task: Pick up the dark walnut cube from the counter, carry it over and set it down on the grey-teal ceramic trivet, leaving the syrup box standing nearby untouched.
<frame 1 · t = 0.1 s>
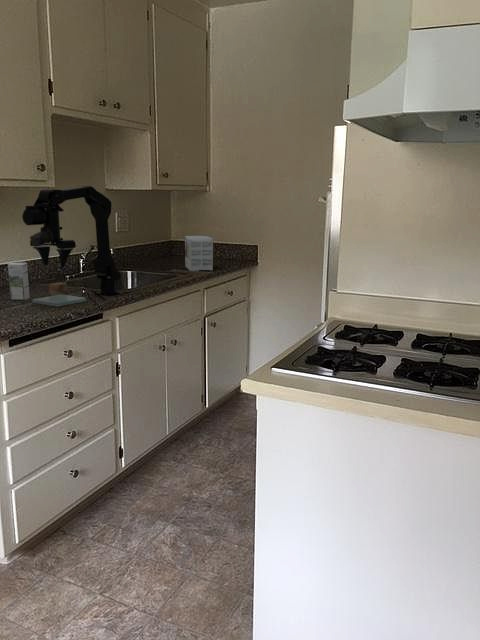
hand: (54, 266, 208), 14 cm above the countertop, tool pointing down, fingers open, 9 cm apart
trivet: (59, 301, 216), on the countertop
supplement box: (198, 269, 316), on the countertop
walnut cube: (58, 295, 229), on the countertop
syrup box: (20, 299, 220), on the countertop
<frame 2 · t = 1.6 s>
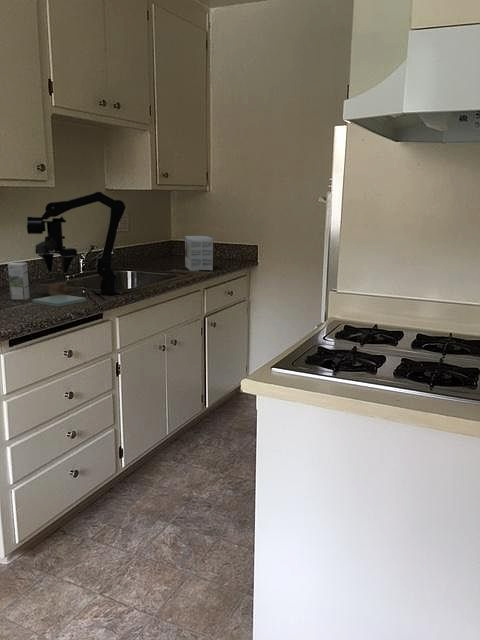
hand: (57, 272, 227), 10 cm above the countertop, tool pointing down, fingers open, 9 cm apart
nothing on the countertop moved.
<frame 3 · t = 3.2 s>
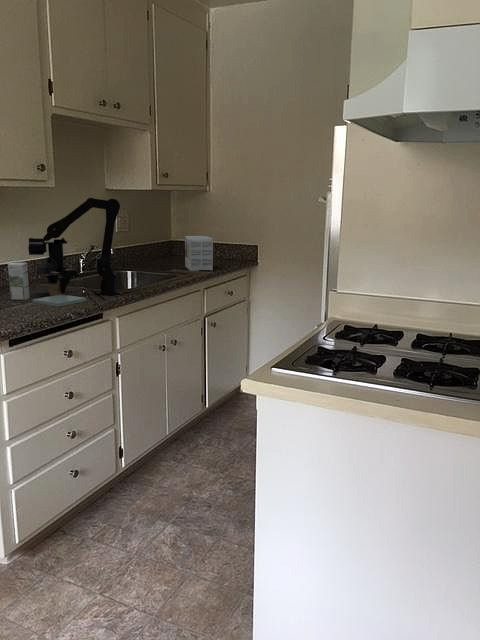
hand: (58, 292, 228), 1 cm above the countertop, tool pointing down, fingers closed on walnut cube, 5 cm apart
walnut cube: (58, 295, 229), on the countertop, touching gripper
everything else where it was.
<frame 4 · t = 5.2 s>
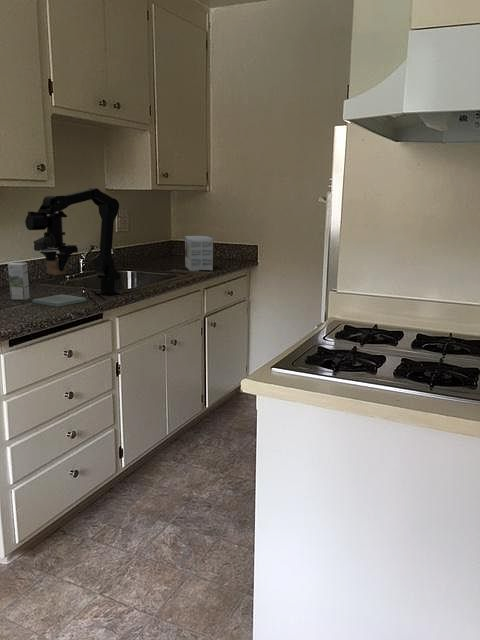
hand: (56, 270, 214), 12 cm above the countertop, tool pointing down, fingers closed on walnut cube, 5 cm apart
walnut cube: (56, 273, 214), point 11 cm above the countertop, touching gripper
everything else where it was.
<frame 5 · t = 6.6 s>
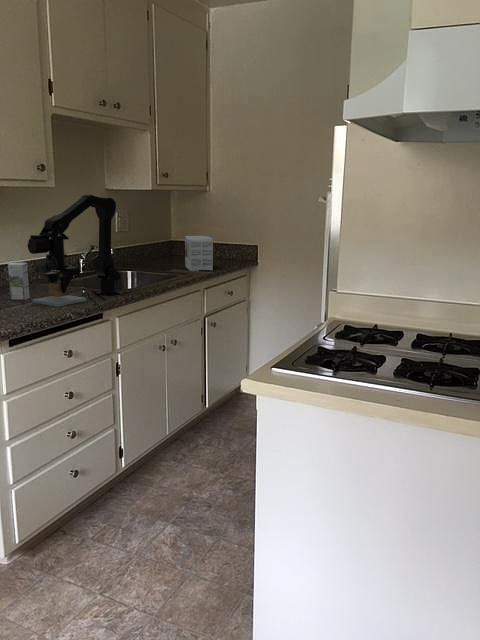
hand: (59, 292, 215), 4 cm above the countertop, tool pointing down, fingers closed on walnut cube, 5 cm apart
walnut cube: (59, 295, 215), point 3 cm above the countertop, touching gripper
everything else where it was.
when the fingers open (4 cm above the countertop, at t = 7.3 s): walnut cube drops 1 cm, resting on trivet.
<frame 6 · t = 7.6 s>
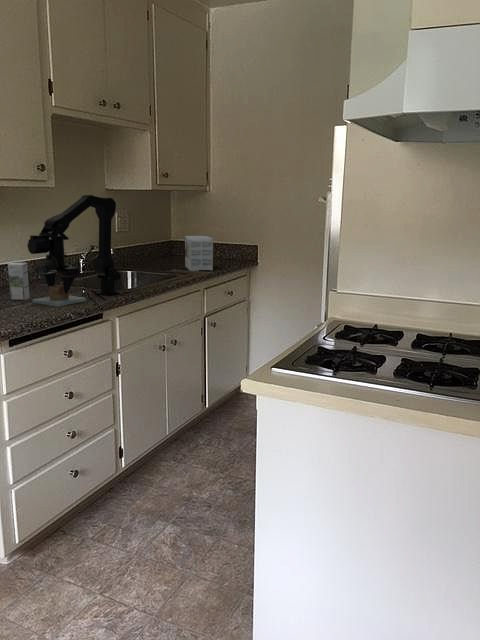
hand: (59, 292, 215), 4 cm above the countertop, tool pointing down, fingers open, 8 cm apart
walnut cube: (59, 298, 215), point 1 cm above the countertop, touching trivet
everything else where it was.
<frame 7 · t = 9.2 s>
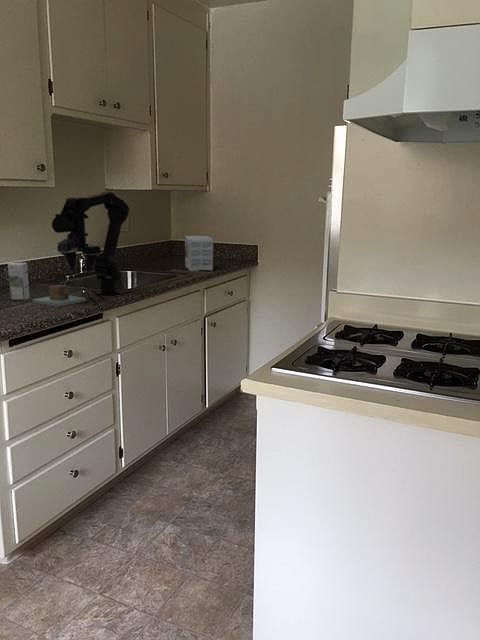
hand: (80, 270, 217), 12 cm above the countertop, tool pointing down, fingers open, 9 cm apart
nothing on the countertop moved.
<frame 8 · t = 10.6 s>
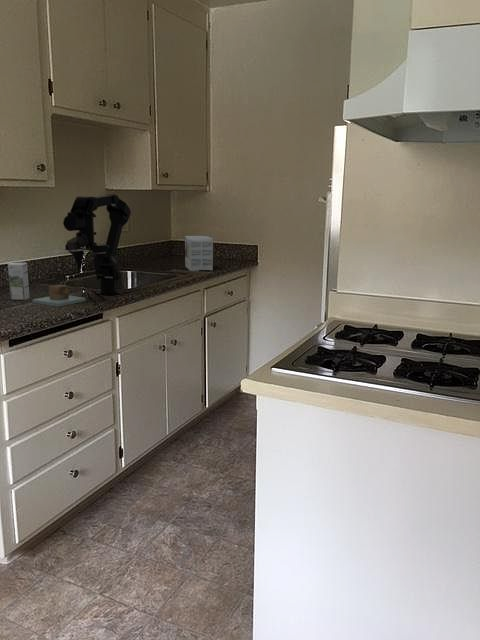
hand: (88, 269, 218), 12 cm above the countertop, tool pointing down, fingers open, 9 cm apart
nothing on the countertop moved.
at the end: walnut cube inside the target area on the trivet (0.0 cm from its centre), point 1.2 cm above the trivet's base; walnut cube tilted 0°; the gripper is holding nothing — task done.
